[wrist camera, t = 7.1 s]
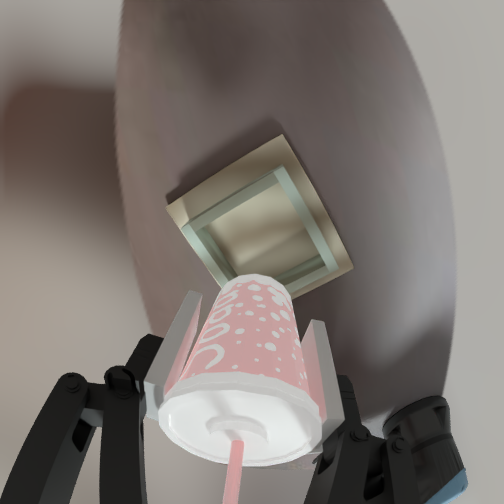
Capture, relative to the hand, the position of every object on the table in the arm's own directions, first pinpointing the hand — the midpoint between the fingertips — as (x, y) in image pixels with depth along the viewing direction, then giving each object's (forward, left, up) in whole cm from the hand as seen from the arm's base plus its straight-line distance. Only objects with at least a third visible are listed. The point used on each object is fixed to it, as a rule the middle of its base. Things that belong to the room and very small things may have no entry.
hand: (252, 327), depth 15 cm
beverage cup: (0, 0, -2) cm, 2 cm away
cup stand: (0, 0, -16) cm, 16 cm away
